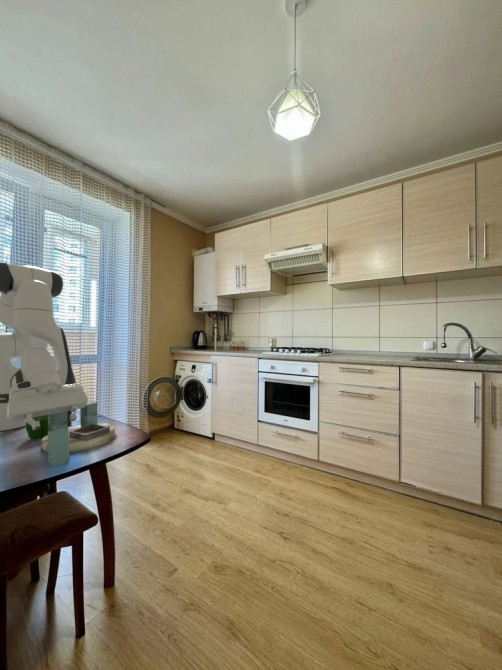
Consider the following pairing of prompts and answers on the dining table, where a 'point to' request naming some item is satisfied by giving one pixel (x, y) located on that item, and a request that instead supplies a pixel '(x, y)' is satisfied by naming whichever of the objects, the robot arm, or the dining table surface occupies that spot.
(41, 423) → the bell pepper
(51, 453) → the loose leg
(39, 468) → the dining table surface
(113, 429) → the stool seat
